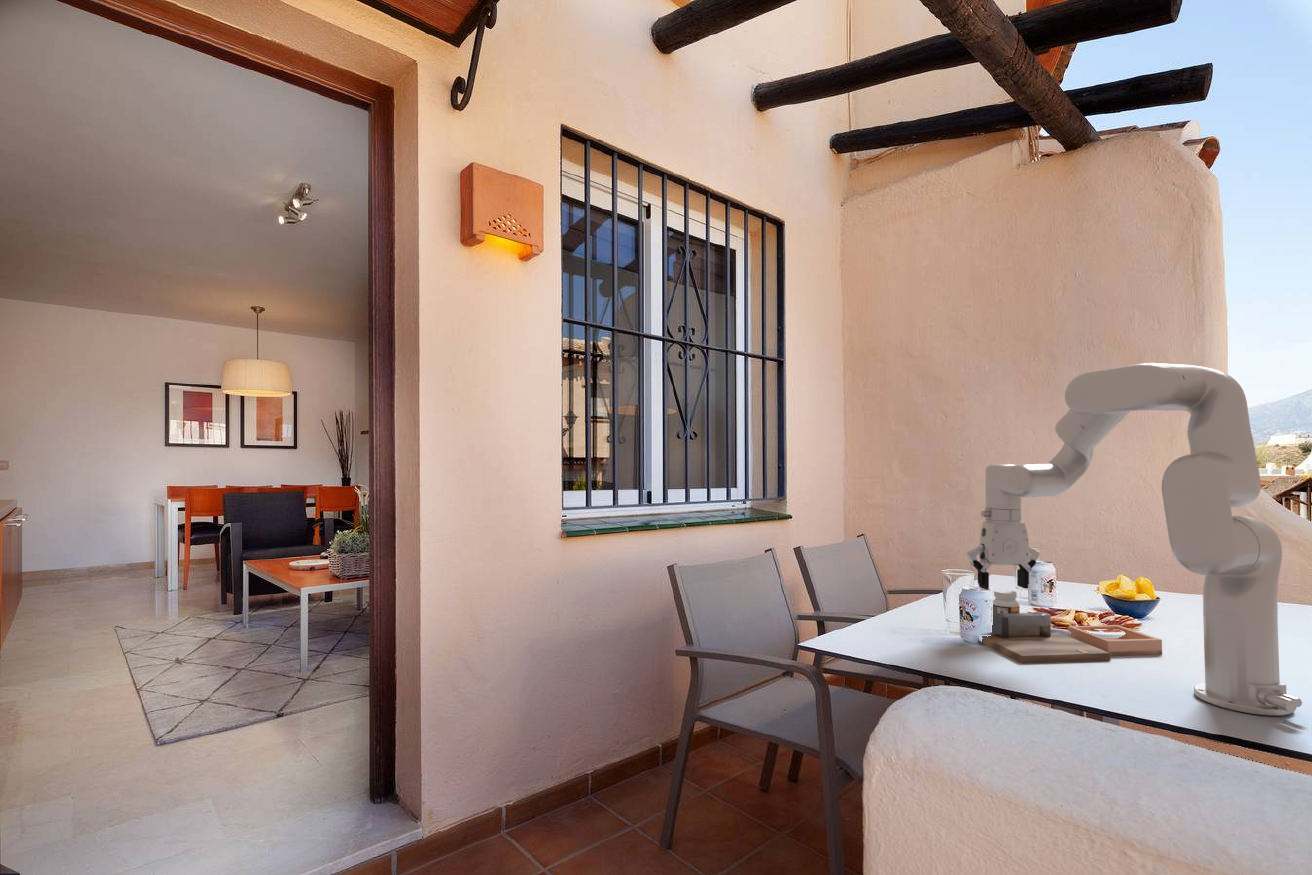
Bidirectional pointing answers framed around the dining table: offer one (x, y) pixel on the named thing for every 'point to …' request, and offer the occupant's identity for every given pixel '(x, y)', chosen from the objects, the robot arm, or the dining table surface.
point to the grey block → (1021, 624)
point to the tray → (1118, 641)
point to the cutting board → (1045, 648)
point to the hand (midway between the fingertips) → (1003, 587)
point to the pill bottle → (1005, 602)
